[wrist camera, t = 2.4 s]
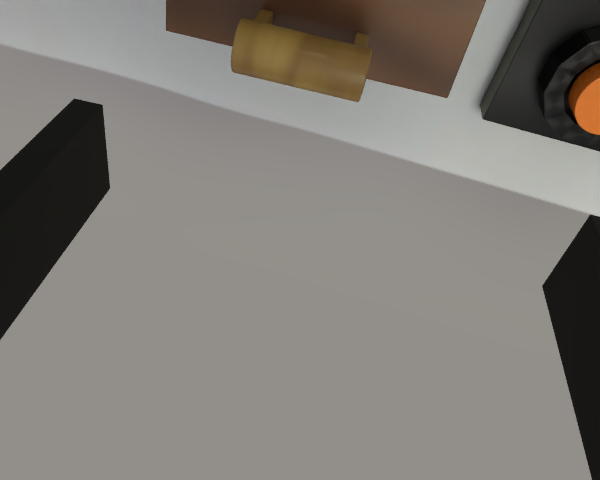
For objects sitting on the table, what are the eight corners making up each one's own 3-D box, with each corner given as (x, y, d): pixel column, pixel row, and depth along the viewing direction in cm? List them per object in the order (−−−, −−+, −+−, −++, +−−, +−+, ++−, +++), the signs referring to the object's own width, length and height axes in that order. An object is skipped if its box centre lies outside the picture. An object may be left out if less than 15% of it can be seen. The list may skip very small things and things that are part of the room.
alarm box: (479, 105, 38) (485, 134, 35) (544, -28, 32) (558, -8, 29) (627, 146, 39) (646, 178, 36) (719, 21, 33) (750, 47, 30)
